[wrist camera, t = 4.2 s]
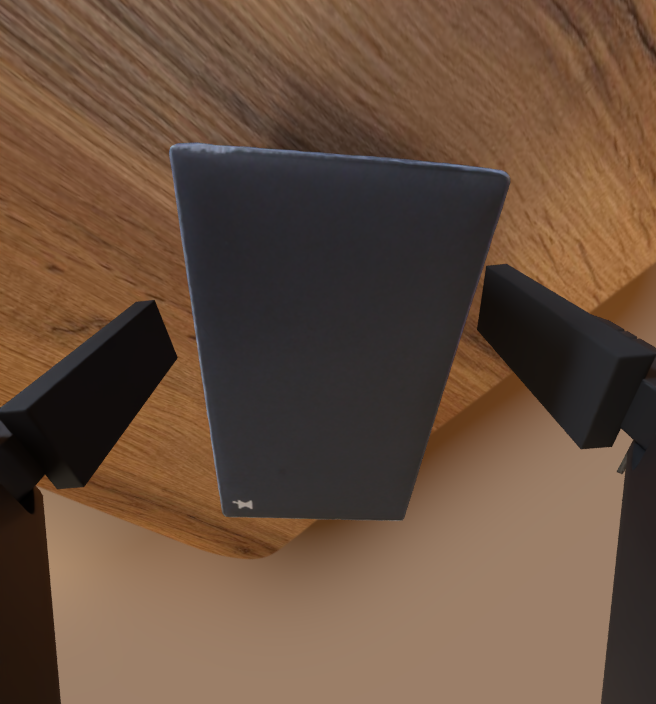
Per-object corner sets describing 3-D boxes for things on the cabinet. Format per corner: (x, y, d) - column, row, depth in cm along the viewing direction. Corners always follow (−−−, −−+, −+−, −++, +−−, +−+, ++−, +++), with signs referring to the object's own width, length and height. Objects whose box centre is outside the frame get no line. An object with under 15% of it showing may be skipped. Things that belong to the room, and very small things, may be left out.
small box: (374, 361, 20) (411, 532, 11) (266, 355, 20) (213, 523, 11) (409, 159, 14) (540, 169, 5) (260, 147, 14) (141, 136, 5)
